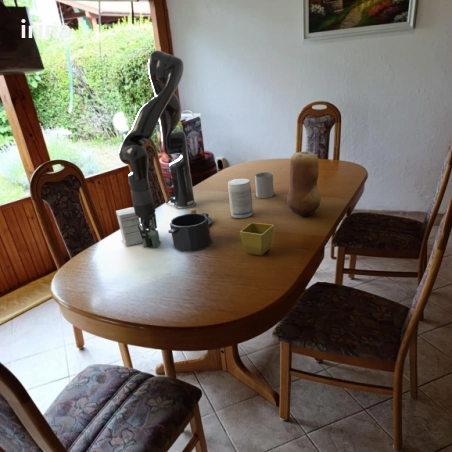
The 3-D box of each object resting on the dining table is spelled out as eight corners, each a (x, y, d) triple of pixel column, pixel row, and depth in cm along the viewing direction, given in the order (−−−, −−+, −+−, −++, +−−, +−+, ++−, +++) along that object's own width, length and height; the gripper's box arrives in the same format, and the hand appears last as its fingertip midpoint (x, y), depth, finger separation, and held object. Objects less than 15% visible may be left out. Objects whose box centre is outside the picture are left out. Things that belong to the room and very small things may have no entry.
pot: (161, 250, 150) (156, 226, 145) (195, 231, 162) (192, 209, 157) (188, 257, 142) (184, 232, 137) (222, 237, 154) (219, 214, 149)
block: (144, 247, 154) (141, 235, 151) (148, 242, 158) (145, 230, 155) (156, 247, 153) (153, 235, 150) (160, 242, 157) (157, 230, 154)
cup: (254, 197, 193) (252, 177, 188) (259, 192, 199) (258, 172, 194) (270, 198, 190) (270, 177, 184) (275, 193, 196) (275, 172, 191)
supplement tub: (257, 214, 172) (255, 180, 165) (239, 220, 168) (236, 186, 161) (244, 209, 179) (241, 176, 172) (226, 215, 175) (223, 181, 168)
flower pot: (263, 259, 135) (262, 234, 130) (241, 255, 139) (239, 231, 134) (275, 249, 141) (274, 224, 136) (253, 245, 145) (251, 222, 141)
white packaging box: (122, 240, 162) (115, 210, 156) (140, 236, 164) (133, 206, 158) (126, 246, 156) (118, 215, 150) (144, 242, 158) (137, 211, 152)
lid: (170, 227, 169) (167, 212, 166) (194, 216, 179) (191, 201, 175) (196, 233, 161) (194, 217, 157) (219, 221, 170) (218, 205, 167)
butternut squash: (326, 212, 167) (328, 149, 154) (308, 222, 159) (309, 157, 146) (298, 207, 175) (298, 147, 162) (280, 216, 167) (278, 155, 154)
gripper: (146, 207, 140) (155, 251, 148) (158, 194, 152) (166, 236, 160) (126, 208, 141) (136, 252, 150) (139, 195, 153) (148, 237, 162)
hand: (152, 243), depth 155 cm, fingers closed on block, 5 cm apart
